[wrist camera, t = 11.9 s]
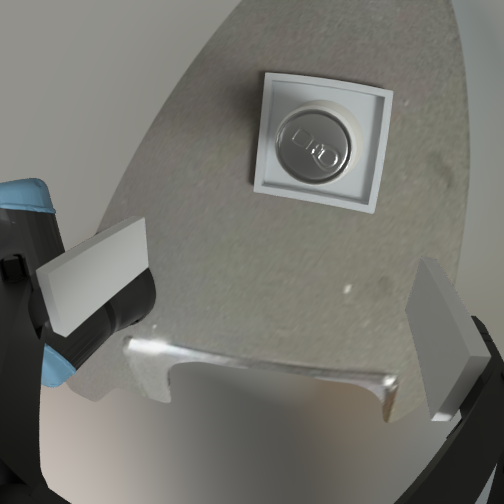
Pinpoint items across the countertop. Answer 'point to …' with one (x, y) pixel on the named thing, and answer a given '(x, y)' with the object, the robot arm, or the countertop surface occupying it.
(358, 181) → the flange tray
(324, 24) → the countertop surface
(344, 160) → the can
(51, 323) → the robot arm
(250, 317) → the countertop surface
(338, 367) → the countertop surface
